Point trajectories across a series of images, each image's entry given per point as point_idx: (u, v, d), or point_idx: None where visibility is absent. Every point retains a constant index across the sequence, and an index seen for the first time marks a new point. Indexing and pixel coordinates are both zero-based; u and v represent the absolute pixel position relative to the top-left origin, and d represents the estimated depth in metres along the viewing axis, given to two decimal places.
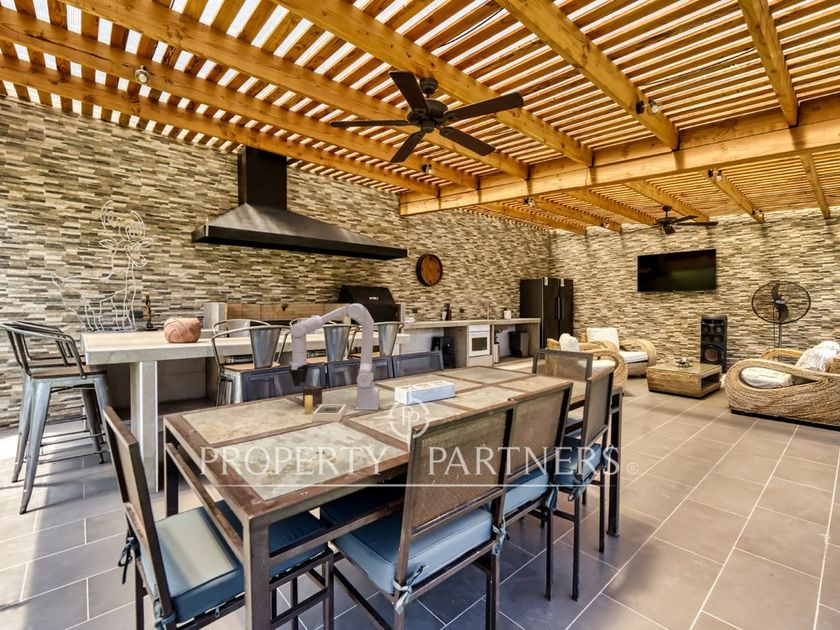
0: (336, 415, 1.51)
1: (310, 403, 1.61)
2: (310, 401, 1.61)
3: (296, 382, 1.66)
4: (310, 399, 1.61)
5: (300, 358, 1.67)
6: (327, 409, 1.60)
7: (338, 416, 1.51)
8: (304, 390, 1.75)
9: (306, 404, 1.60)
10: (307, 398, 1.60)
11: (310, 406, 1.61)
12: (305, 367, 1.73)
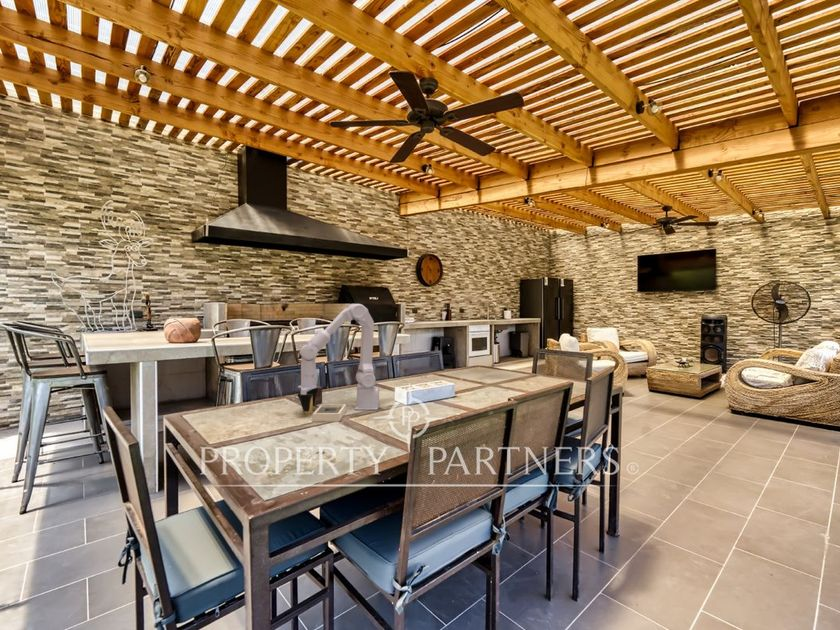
0: (336, 415, 1.51)
1: (310, 403, 1.61)
2: (310, 401, 1.61)
3: (305, 407, 1.57)
4: None
5: (309, 382, 1.59)
6: (327, 409, 1.60)
7: (338, 416, 1.51)
8: None
9: None
10: None
11: (310, 406, 1.61)
12: (314, 390, 1.65)
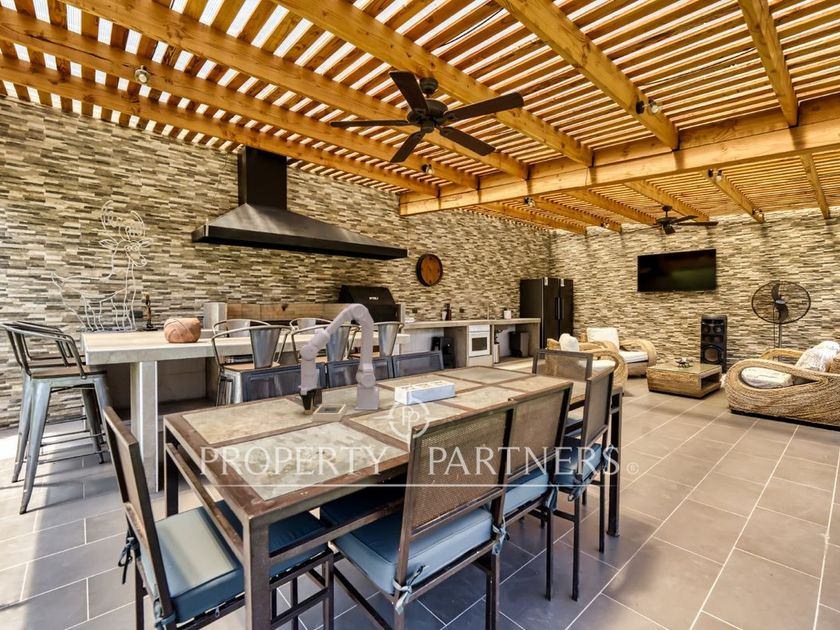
0: (336, 415, 1.51)
1: None
2: None
3: (307, 406, 1.59)
4: None
5: (309, 382, 1.59)
6: (327, 409, 1.60)
7: (338, 416, 1.51)
8: None
9: None
10: None
11: None
12: (313, 391, 1.63)
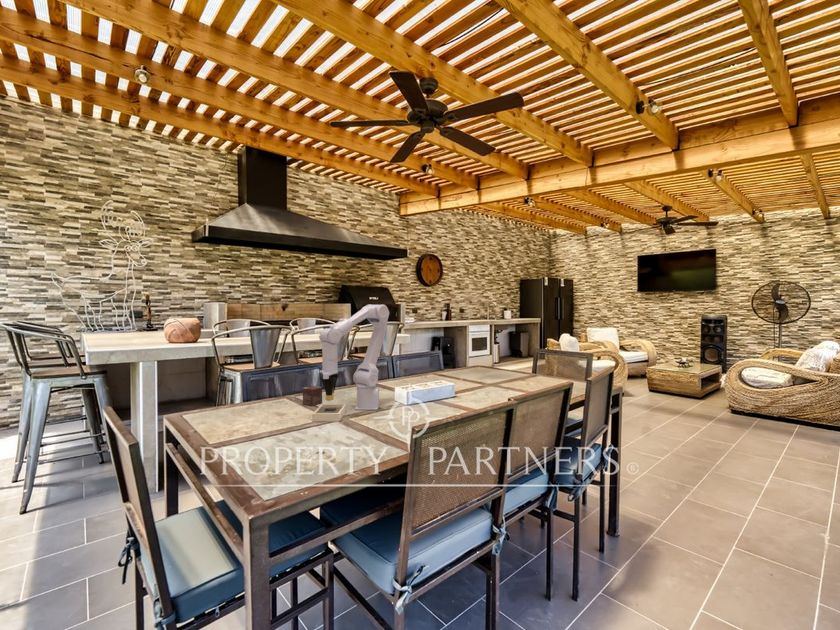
0: (336, 415, 1.51)
1: None
2: None
3: (328, 391, 1.55)
4: None
5: (331, 366, 1.54)
6: (327, 409, 1.60)
7: (338, 416, 1.51)
8: (304, 390, 1.75)
9: None
10: None
11: None
12: (334, 377, 1.59)
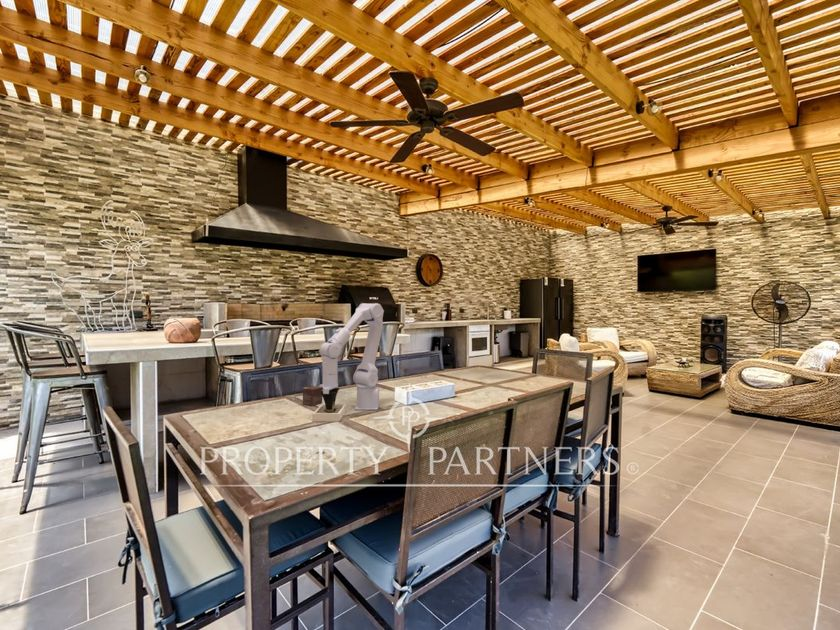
0: (336, 415, 1.51)
1: None
2: None
3: (328, 405, 1.55)
4: None
5: (331, 380, 1.55)
6: None
7: (338, 416, 1.51)
8: (304, 390, 1.75)
9: None
10: None
11: None
12: (334, 390, 1.59)
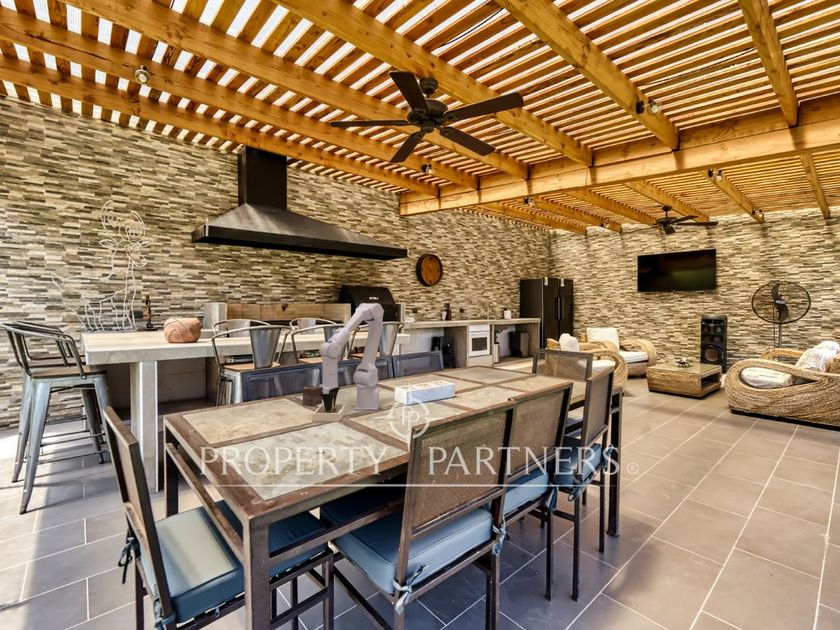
0: (336, 415, 1.51)
1: None
2: None
3: (327, 406, 1.54)
4: None
5: (331, 380, 1.55)
6: None
7: (338, 416, 1.51)
8: (304, 390, 1.75)
9: None
10: None
11: None
12: (335, 390, 1.61)
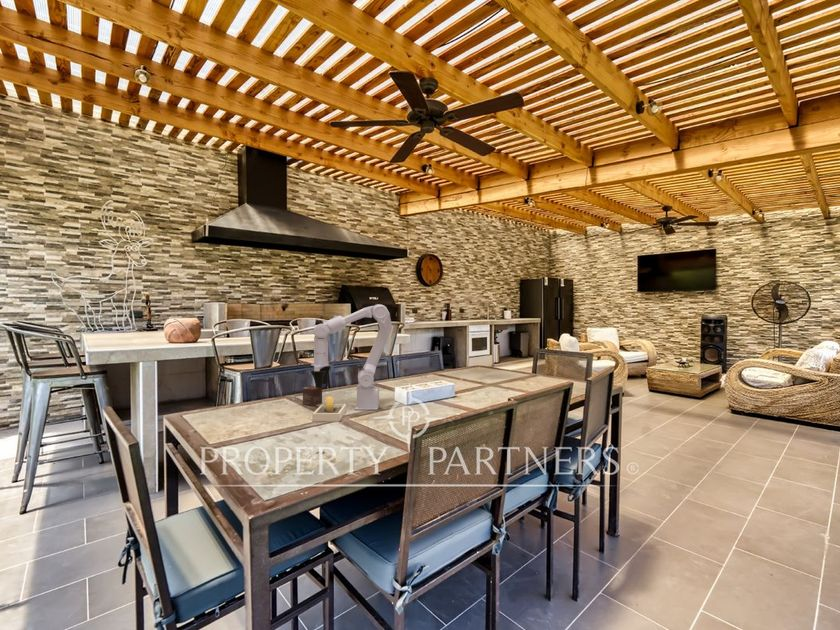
0: (336, 415, 1.51)
1: (331, 404, 1.56)
2: (331, 402, 1.56)
3: (318, 383, 1.63)
4: (331, 400, 1.56)
5: (322, 359, 1.64)
6: None
7: (338, 416, 1.51)
8: (304, 390, 1.75)
9: (327, 405, 1.56)
10: (328, 399, 1.56)
11: (331, 407, 1.56)
12: (326, 368, 1.71)
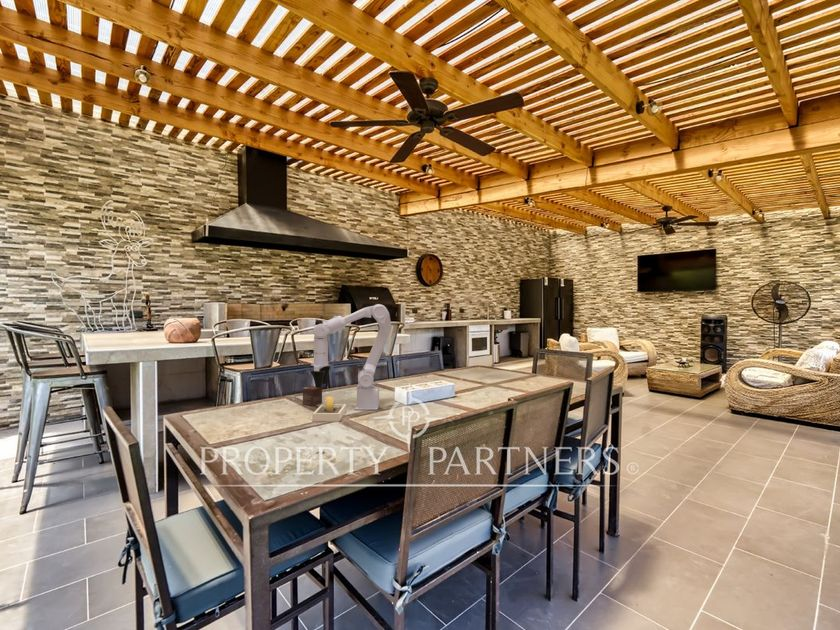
0: (336, 415, 1.51)
1: (331, 404, 1.56)
2: (331, 402, 1.56)
3: (318, 383, 1.63)
4: (331, 400, 1.56)
5: (322, 359, 1.64)
6: None
7: (338, 416, 1.51)
8: (304, 390, 1.75)
9: (327, 405, 1.56)
10: (328, 399, 1.56)
11: (331, 407, 1.56)
12: (326, 368, 1.71)
